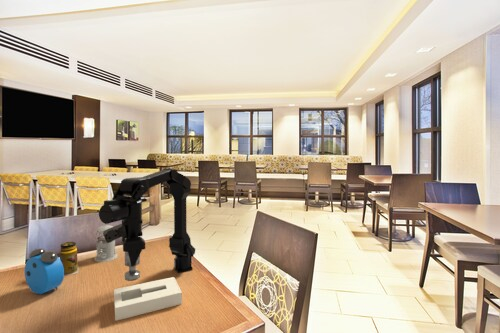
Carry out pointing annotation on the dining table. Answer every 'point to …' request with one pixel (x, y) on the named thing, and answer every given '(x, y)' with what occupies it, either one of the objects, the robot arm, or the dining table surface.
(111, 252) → the french press
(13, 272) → the dining table surface
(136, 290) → the keyhole board
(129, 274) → the keyhole peg
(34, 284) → the alarm clock
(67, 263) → the condiment
